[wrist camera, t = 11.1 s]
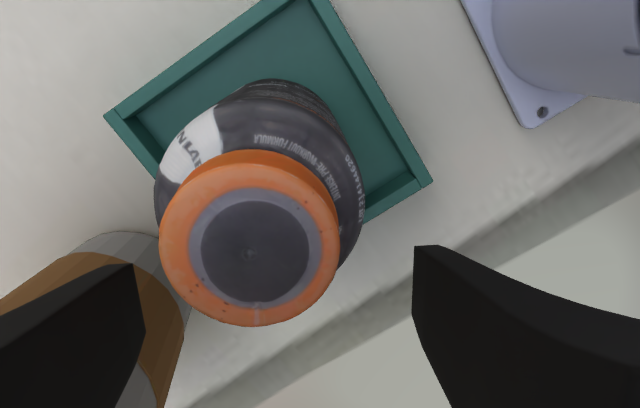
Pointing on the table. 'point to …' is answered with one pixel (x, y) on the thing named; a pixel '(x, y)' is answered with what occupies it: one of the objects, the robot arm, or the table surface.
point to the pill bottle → (258, 204)
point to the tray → (289, 64)
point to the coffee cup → (156, 301)
